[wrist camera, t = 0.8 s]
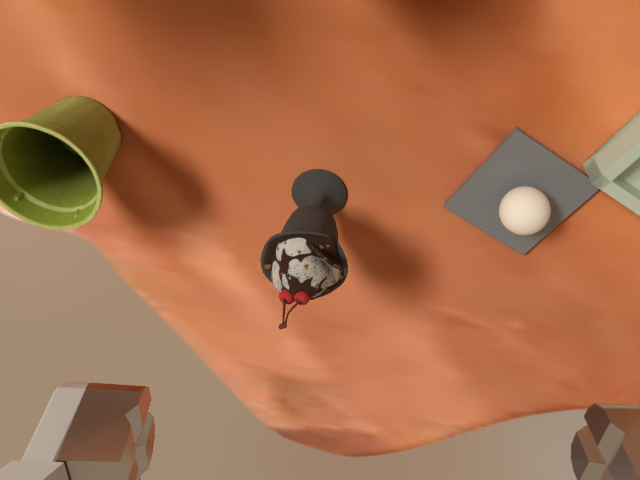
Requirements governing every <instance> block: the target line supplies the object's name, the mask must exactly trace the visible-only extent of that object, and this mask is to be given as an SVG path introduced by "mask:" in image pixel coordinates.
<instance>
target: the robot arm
mask: <svg viewBox="0 0 640 480" xmlns="http://www.w3.org/2000/svg"><path fill="white" fill-rule="evenodd" d="M150 402H151V396H150V390H149V387H146V386H132V385H116V384H100V383H82V382H62V383H61V384H60V385H59V386H58V387H57V388H56V389H55V391H54V393H53V395H52V397H51V399H50V402H49V403H48V405H47V408H46V410H45V412H44V414H43V416H42V418H41V420H40V422H39V425H38V426H37V429H36V431H35V433H34V435H33V437H32V439H31V441H30V443H29V445H28V447H27V449H26V451H25V454H24V456H23V458H22V460H16V461H15V460H13V461H11V462H10V463H8V464H7V465H6V466H4V467H3V468H2V469H1V470H0V480H141V478H140V476H141V475H142V474H143V473H144V472H145V471H147V470H148V468H149V465H150V461H151V457H152V453H153V445H154V438H155V424H154V417H153V415H152V414H150V413H149V412H148V409H149V406H150ZM584 418H585V420H586V422H587V424H588V425H587V426H585V427H583V428H582V429H580V430H579V431H577V432H576V434H575V437H574V439H573V441H572V444H571V461H572V466H573V471H574V473H575V476H576V478H577V480H640V405H639V404H601V403H594V404H593V405H591V406H590V407H588V409H587V411H586V413H585V415H584Z"/></svg>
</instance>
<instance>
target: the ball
mask: <svg viewBox="0 0 640 480" xmlns="http://www.w3.org/2000/svg"><path fill="white" fill-rule="evenodd" d="M550 214H551V207H550V203H549V200H548V198H547V197H546V196H545V194H544V193H542V192H541V191H540V190H538V189H536V188H533V187H529V186H522V187H517V188H515V189H512V190H511V191H509V192H508V193H507V194H506V195H505V196H504V197H503V199H502V201H501V203H500V206H499V216H500V219H501V222H502V223H503V225H504V226H505V227H506V228H507V229H508V230H509V231H511V232H513V233H515V234H518V235H531V234H534V233H536V232H538V231H540V230H541V229H542V228H543V227H544V226H545V225H546V224H547V222H548V220H549V218H550Z"/></svg>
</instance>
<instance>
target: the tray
mask: <svg viewBox="0 0 640 480" xmlns="http://www.w3.org/2000/svg"><path fill="white" fill-rule="evenodd" d="M583 166H584V168H585V170H586V172H587V174H588V177H589V179H590V181H591V183H592V184H593V185H594V186H596V187H597V188H599V189H600V190H602V191H603V192H605V193H606V194H608V195H609V196H611V197H612V198H614V199H615V200H617V201H618V202H620V203H621V204H623V205H624V206H626V207H627V208H629V209H630V210H632V211H633V212H635V213H636V214H637V215H639V216H640V112H639V113H638V114H636V115H635V116H634V117H633V118H632V119H631V120H630V121H629V122H628V123H627V124H626V125H624V126H623V127H622V128H621V129H620V130H619V131H618V132H617V133H616V134H615V135H614V136H613V137H611V138H610V139H609V140H608V141H607V142H606V143H605V144H604V145H603V146H602V147H601V148H600V149H598V150H597V151H596V152H595V153H594V154H593V155H592V156H591V157H590V158H589V159H588V160H586V161H585V162H584V163H583Z"/></svg>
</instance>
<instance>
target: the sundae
mask: <svg viewBox="0 0 640 480" xmlns="http://www.w3.org/2000/svg"><path fill="white" fill-rule="evenodd" d="M292 196H293V199H294V201H295V203H296V204H297V206H298V207H299V208H298V209H296V210H295V211H294V212H293V213H292V215H291V216H290V218H289V219H288V221H287V222H286V224H285V226H284V228H283V230H282V232H281V233H279V234H276V235H274V236H272V237H271V238H270V239H269V240H268V241H267V243H266V244H265V246H264V248H263V251H262V255H261V267H262V270H263V273H264V274H265V276H266V277H267V278H268V279H269V280H270V281H271V282H272V283H273V284H274V286H275V287H276V289H277V290H278V291H279V292H280V293H279V299H280V300H281V302H282V303H283V322H282V324H280V325H279V329H283V328H286V327H287V325H286V323H287V318H288V315H289V313H290V312H291V311H292V309H293V308H295V307H296V306H297V305H298V304H299V305H306V304H307V303H308V301H309V299H310V300H313V299H315V298H318V297H321V296H324V295H327V294H329V293H331V292H332V291H334V290H335V289H336V288H338V287H339V286H340V285H341V284H342V283H343V282H344V281H345V279H346V276H347V274H348V265H347V259H346V257H345V254H344V252H343V250H342V248H341V246H340V245H339V243H338V232H337V227H336V222H335V219H334V217H333V215H332V214H334V213H336V212H338V211H339V210H340V209H341V208H342V207H343V206H344V204H345V202H346V199H347V190H346V187H345V185H344V183H343V182H342V180H341V179H340V178H339V177H338V176H336V175H335V174H333V173H331V172H329V171H325V170H310V171H306V172H304V173H302V174H301V175H300V176H298V177H297V179H296V180H295V181H294V183H293V186H292ZM294 301H295V302H296V304H295V305H294V306H293V307H292V308H291V309H290V310H289V312H288V313H287V316H286V320H285V323H284V315H285V305H286V304H291V303H293V302H294Z"/></svg>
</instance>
